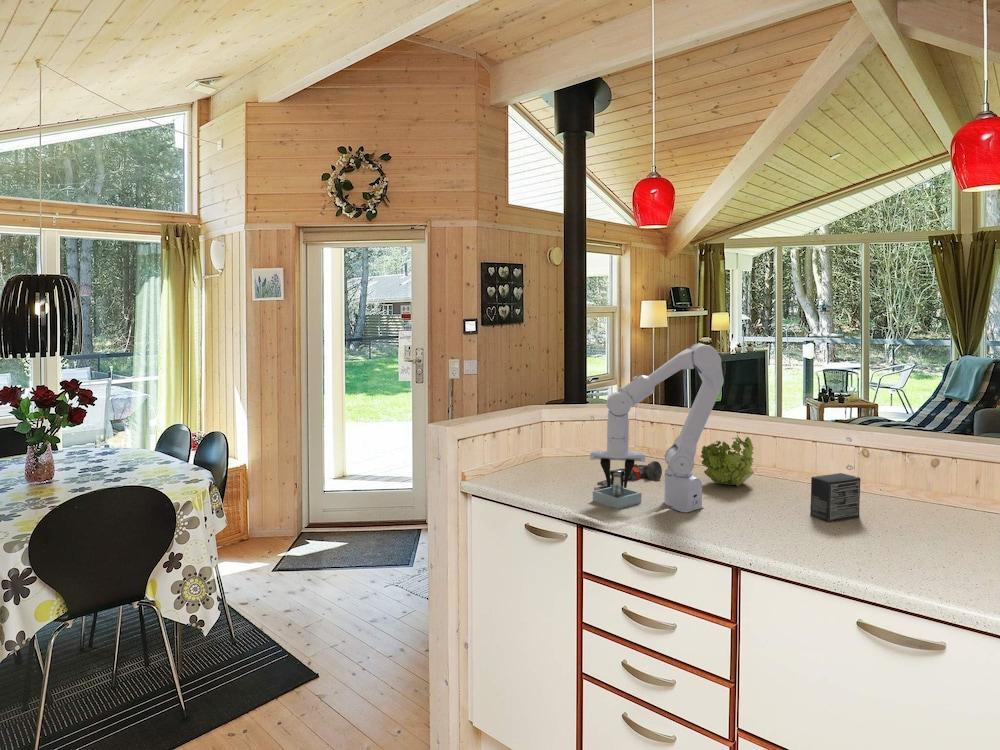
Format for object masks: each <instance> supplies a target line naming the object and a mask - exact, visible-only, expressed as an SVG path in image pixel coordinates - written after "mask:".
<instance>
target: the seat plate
mask: <svg viewBox="0 0 1000 750" xmlns="http://www.w3.org/2000/svg"><path fill="white" fill-rule="evenodd" d="M610 487H611V485H610ZM604 488H608V486H607V485H604V486H602V485H599V486H597V487H596V486H595V487H593V491H596V490H600V489H604Z"/></svg>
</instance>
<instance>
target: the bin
mask: <svg viewBox="0 0 1000 750" xmlns="http://www.w3.org/2000/svg"><path fill="white" fill-rule="evenodd" d="M592 502H594V503H598V504H601V505H604V506H607V507H611V508H614V509H617V510H619V509H622V508H625V507H630V506H634V505H637V504H641V503H642V492H640V491H636V490H632V489H630V488H624V487H623V494H612V493H611V487H608V488H604V489H600V490H596V491H594V490H592Z"/></svg>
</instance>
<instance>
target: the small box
mask: <svg viewBox="0 0 1000 750" xmlns="http://www.w3.org/2000/svg"><path fill="white" fill-rule="evenodd" d="M810 480H811V483H810V486H811V487H810V511H809V512H810V513H809V515H810V517H812V518H815V519H818V520H821V521H823V522H825V523H834V522H841V521H847V520H853V519H860V501H861V500H860V498H861V497H860V496H861V477H859V476H854V475H852V474H851V475H850V474H847V473H843V472H840V473H832V474H825V475H824V474H823V475H818V476H817V475H816V476H811V479H810Z"/></svg>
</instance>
